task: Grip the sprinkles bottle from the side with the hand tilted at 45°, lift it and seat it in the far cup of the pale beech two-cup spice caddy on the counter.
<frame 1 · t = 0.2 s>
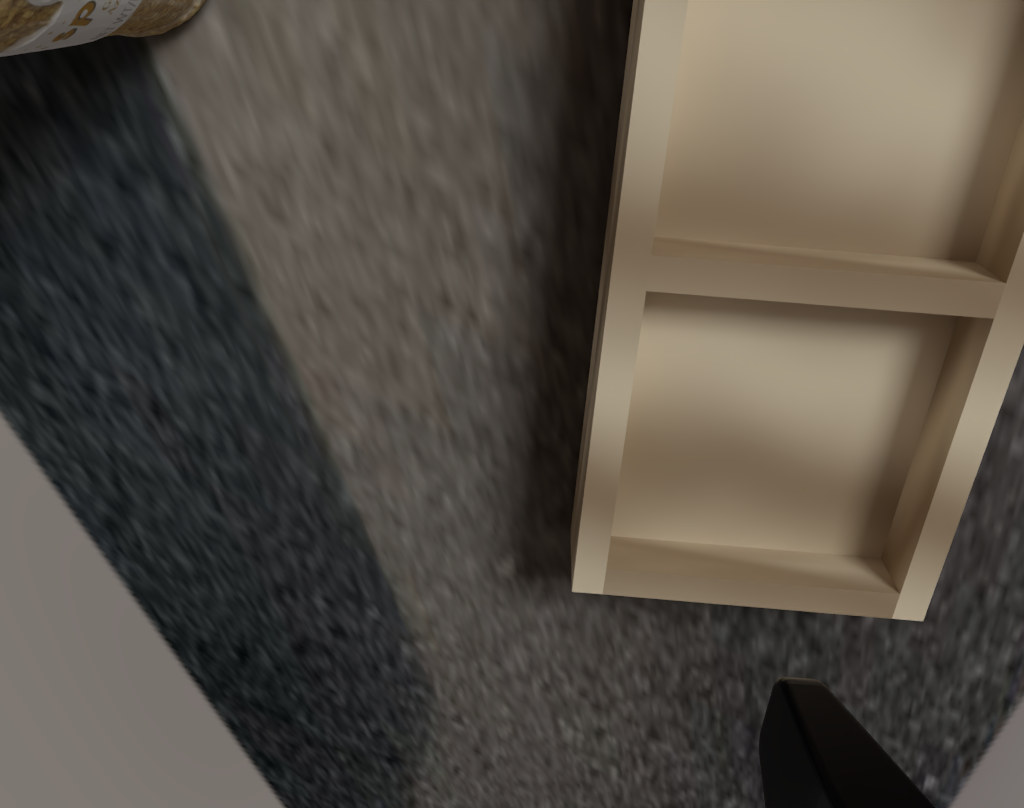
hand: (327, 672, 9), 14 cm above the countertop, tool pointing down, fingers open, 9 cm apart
caddy: (793, 250, 21), on the countertop
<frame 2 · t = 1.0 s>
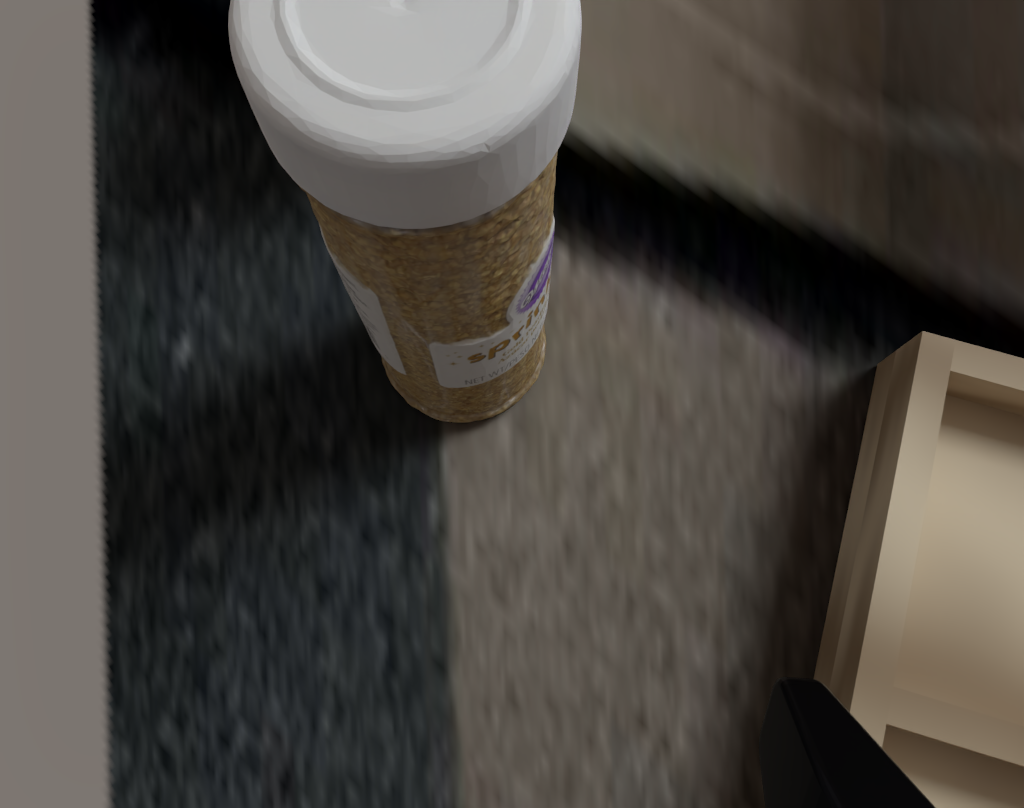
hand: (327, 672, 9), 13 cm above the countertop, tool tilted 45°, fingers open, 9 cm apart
caddy: (995, 742, 21), on the countertop
sprinkles bottle: (463, 347, 24), on the countertop
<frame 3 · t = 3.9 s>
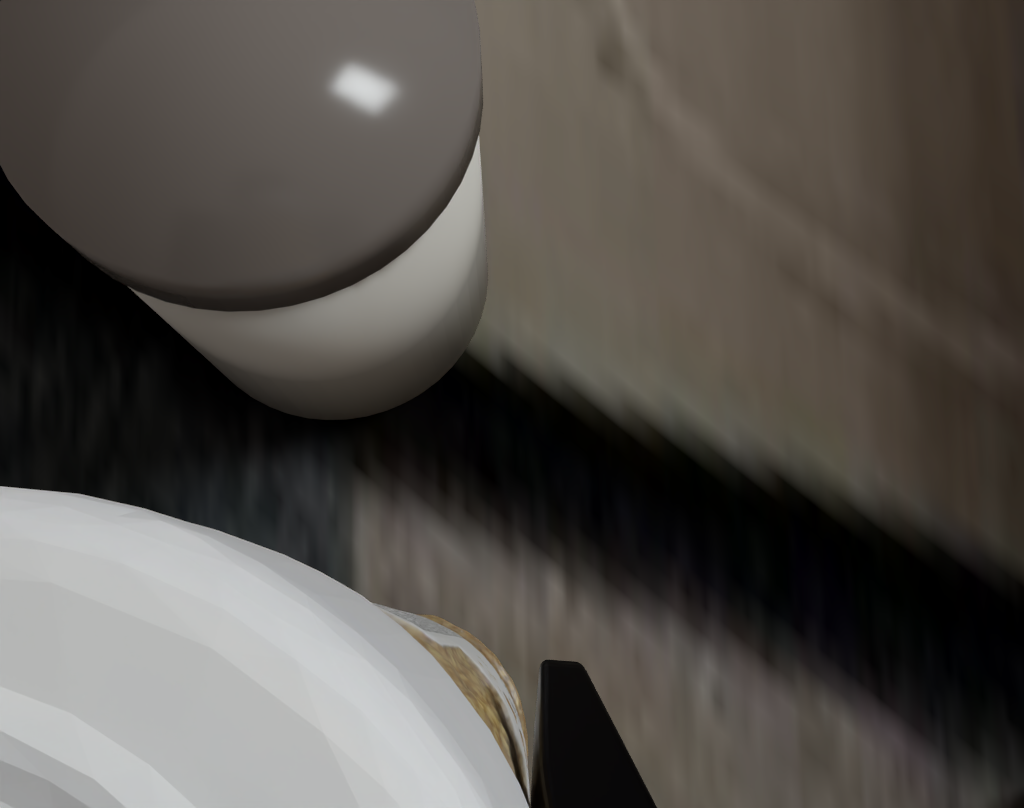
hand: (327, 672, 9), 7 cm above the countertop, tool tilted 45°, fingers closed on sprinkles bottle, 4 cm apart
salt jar: (340, 276, 18), on the countertop
sprinkles bottle: (401, 739, 15), on the countertop, touching gripper
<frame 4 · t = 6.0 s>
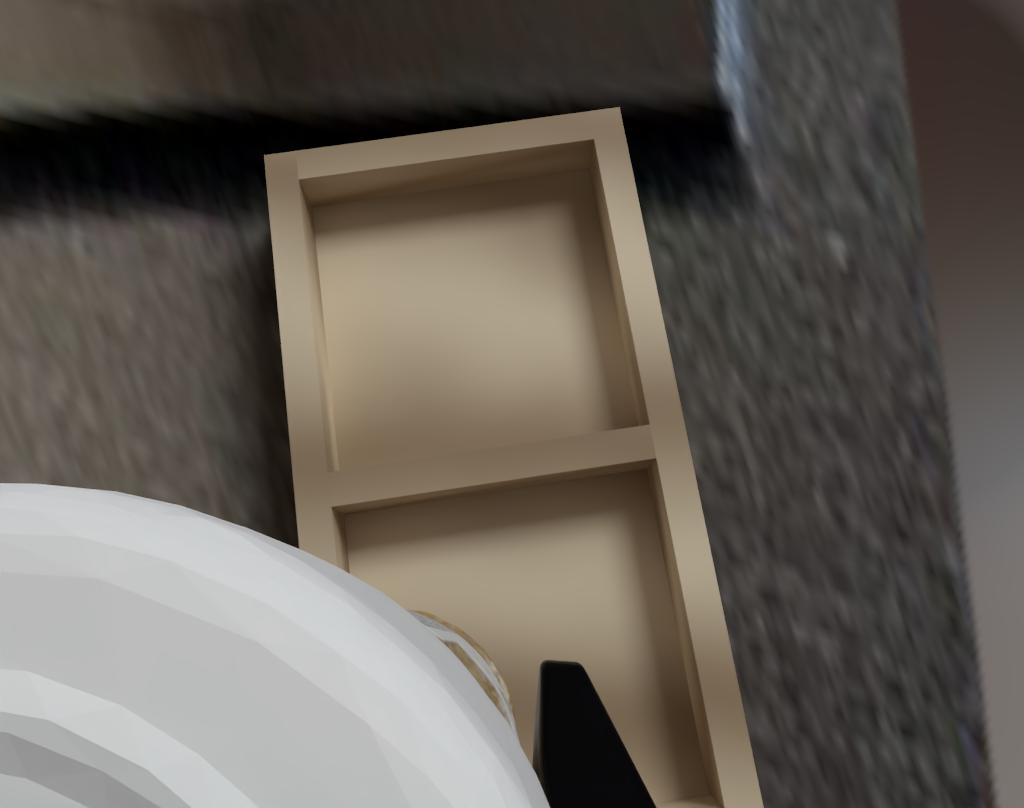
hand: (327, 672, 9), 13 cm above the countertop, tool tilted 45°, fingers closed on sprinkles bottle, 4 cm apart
caddy: (494, 483, 22), on the countertop
sprinkles bottle: (391, 734, 15), point 6 cm above the countertop, touching gripper
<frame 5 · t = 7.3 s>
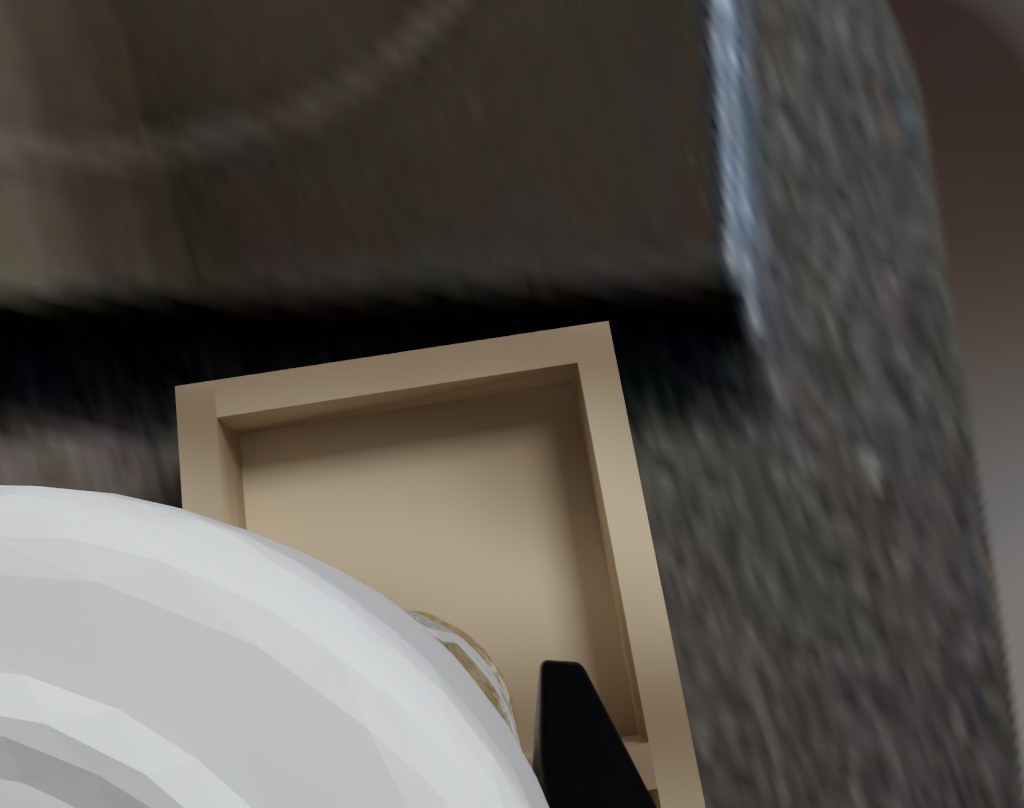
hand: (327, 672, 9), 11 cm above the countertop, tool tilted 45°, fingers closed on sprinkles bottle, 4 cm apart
caddy: (460, 776, 18), on the countertop
sprinkles bottle: (391, 735, 15), point 3 cm above the countertop, touching gripper
when the fingers open (9 cm above the countertop, at t = 8.3 s): sprinkles bottle stays where it is, resting on caddy.
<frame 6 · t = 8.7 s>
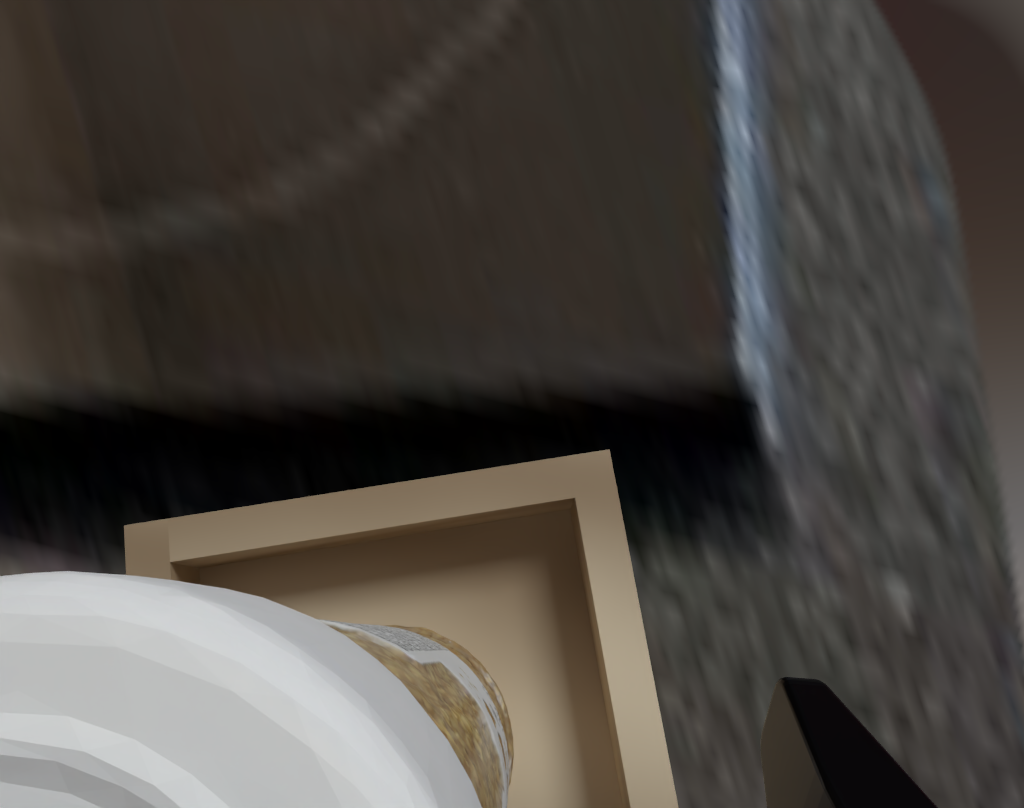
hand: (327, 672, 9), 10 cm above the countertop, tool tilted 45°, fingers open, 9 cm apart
sprinkles bottle: (396, 743, 17), point 1 cm above the countertop, touching caddy
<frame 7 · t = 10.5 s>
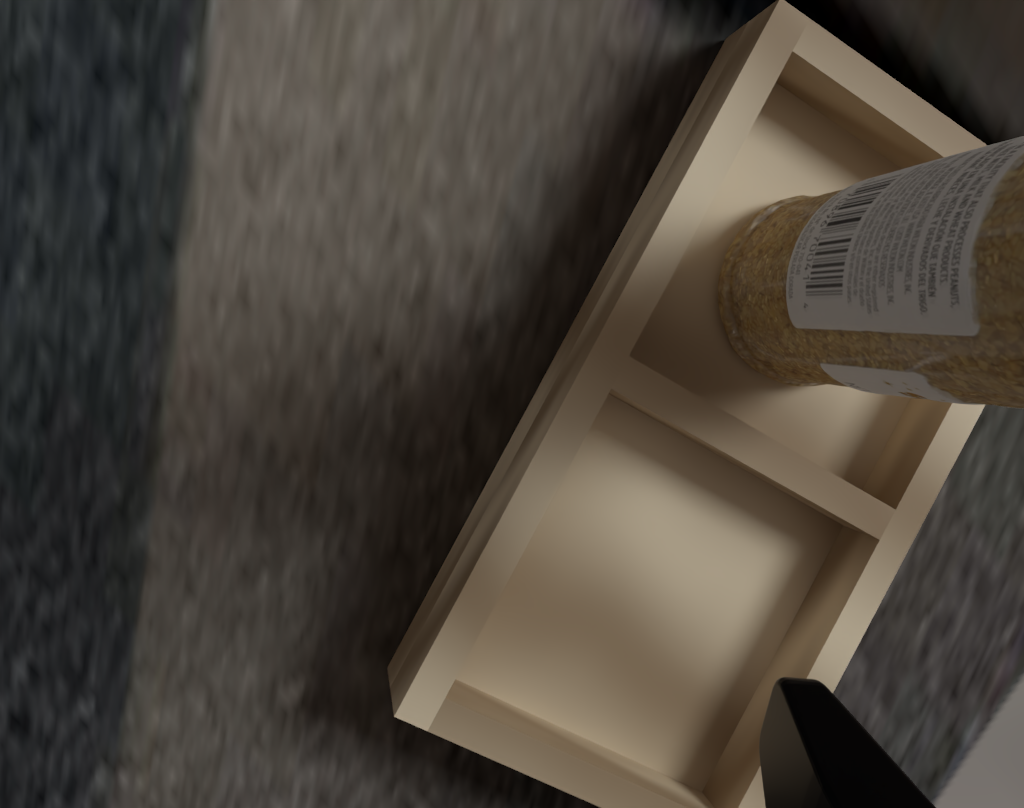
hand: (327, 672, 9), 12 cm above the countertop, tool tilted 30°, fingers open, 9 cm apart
caddy: (709, 436, 22), on the countertop
sprinkles bottle: (794, 290, 21), point 1 cm above the countertop, touching caddy
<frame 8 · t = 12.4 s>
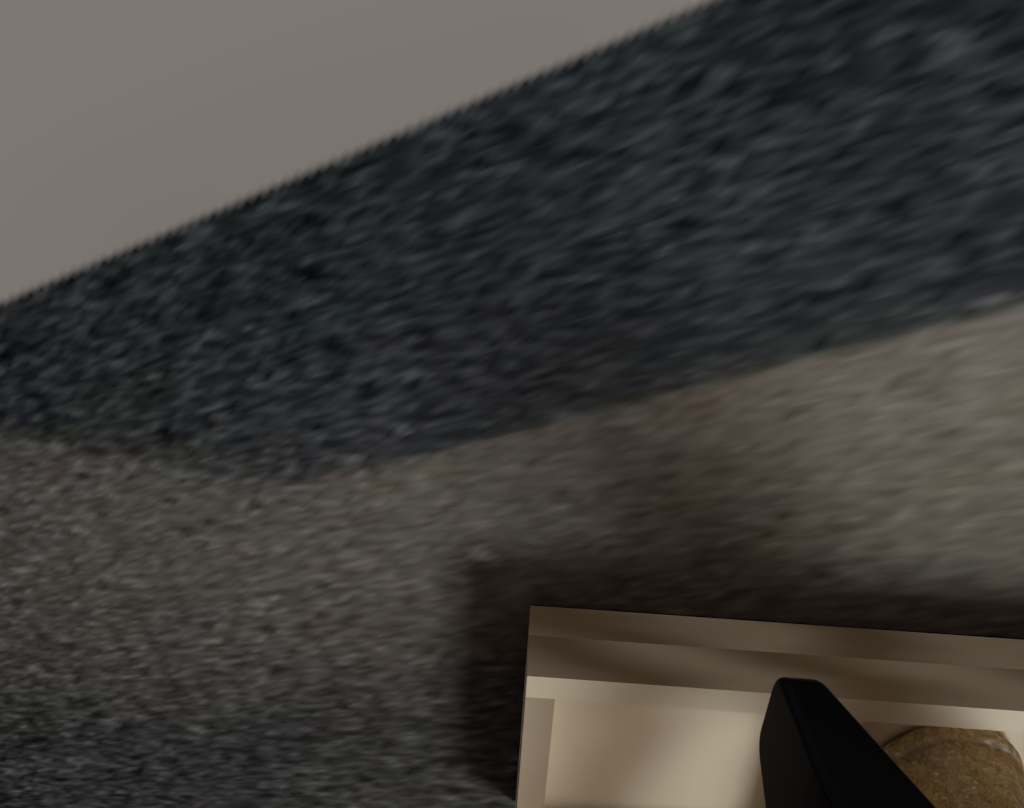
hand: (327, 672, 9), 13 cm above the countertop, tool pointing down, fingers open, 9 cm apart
caddy: (795, 731, 27), on the countertop
sprinkles bottle: (937, 762, 26), point 1 cm above the countertop, touching caddy
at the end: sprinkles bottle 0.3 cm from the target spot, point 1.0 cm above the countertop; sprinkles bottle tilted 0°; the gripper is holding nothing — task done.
